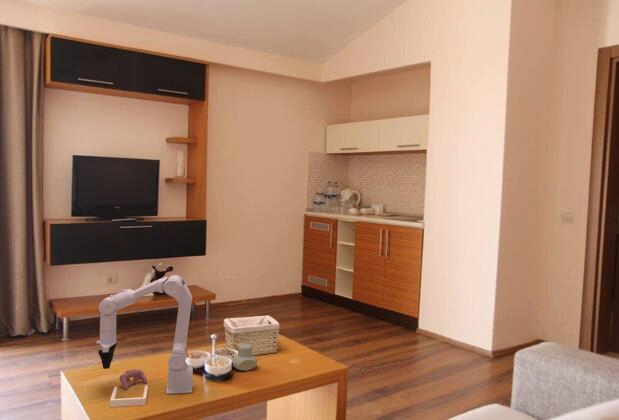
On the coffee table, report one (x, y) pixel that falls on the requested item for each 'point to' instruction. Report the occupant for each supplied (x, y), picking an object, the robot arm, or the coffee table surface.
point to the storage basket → (252, 333)
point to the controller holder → (128, 399)
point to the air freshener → (244, 358)
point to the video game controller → (129, 374)
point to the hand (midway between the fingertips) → (107, 364)
